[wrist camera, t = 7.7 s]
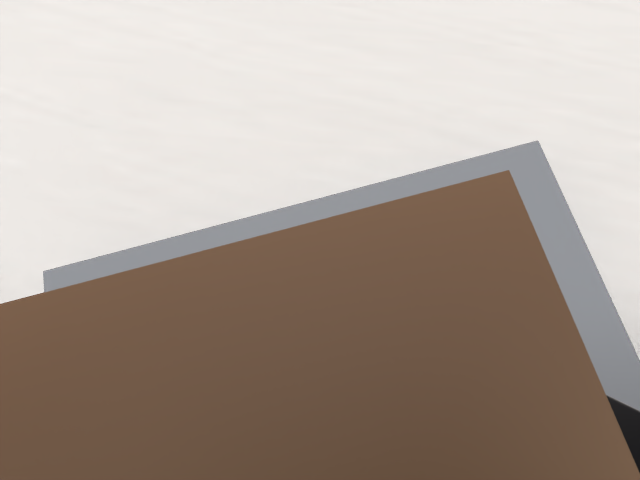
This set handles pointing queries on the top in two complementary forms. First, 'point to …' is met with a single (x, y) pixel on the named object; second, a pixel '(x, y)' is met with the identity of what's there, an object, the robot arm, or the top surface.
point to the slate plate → (522, 161)
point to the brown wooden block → (317, 358)
